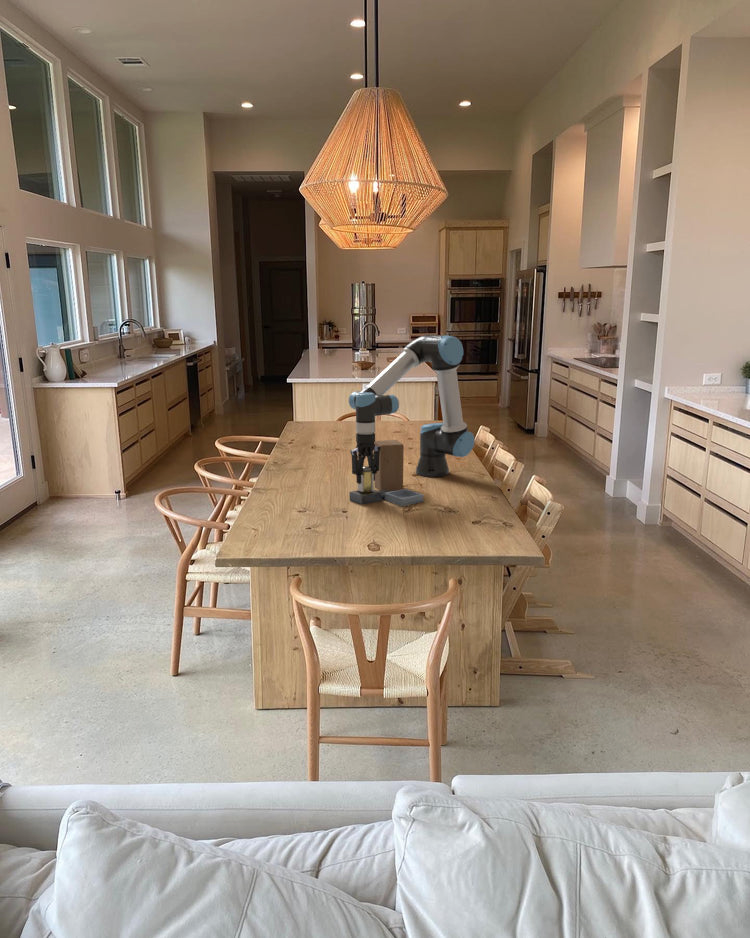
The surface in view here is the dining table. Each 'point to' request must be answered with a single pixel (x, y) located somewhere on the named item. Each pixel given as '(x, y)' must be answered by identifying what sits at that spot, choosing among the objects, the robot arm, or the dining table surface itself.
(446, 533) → the dining table surface
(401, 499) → the tray
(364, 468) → the pin
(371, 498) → the bar
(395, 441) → the wooden block
